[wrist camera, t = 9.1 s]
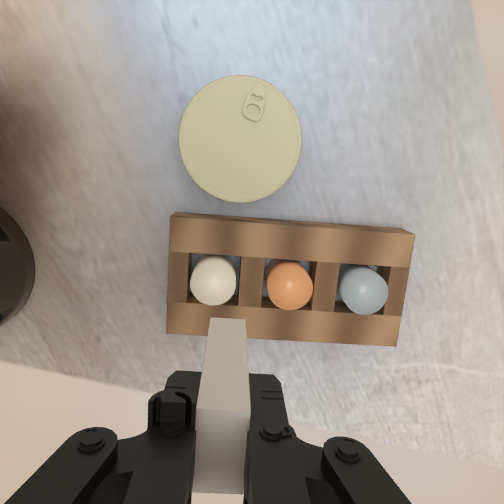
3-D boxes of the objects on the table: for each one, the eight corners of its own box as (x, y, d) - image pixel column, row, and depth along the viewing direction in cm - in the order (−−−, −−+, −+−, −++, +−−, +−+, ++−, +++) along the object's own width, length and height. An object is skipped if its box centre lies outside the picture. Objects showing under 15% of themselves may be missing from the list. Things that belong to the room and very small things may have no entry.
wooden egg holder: (171, 320, 45) (166, 333, 42) (175, 212, 43) (170, 216, 39) (384, 332, 47) (396, 346, 43) (401, 228, 44) (415, 234, 41)
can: (298, 117, 41) (323, 101, 29) (266, 203, 43) (277, 221, 31) (210, 82, 40) (200, 51, 28) (181, 173, 42) (160, 179, 30)
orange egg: (263, 293, 45) (265, 308, 40) (266, 254, 44) (269, 265, 39) (302, 296, 45) (310, 311, 41) (307, 257, 44) (315, 268, 40)
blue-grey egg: (330, 298, 45) (341, 313, 41) (335, 259, 44) (347, 270, 40) (370, 300, 46) (384, 316, 41) (375, 261, 45) (391, 273, 40)
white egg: (193, 289, 44) (189, 304, 40) (195, 249, 44) (191, 260, 39) (234, 291, 45) (234, 306, 40) (237, 252, 44) (237, 263, 39)
